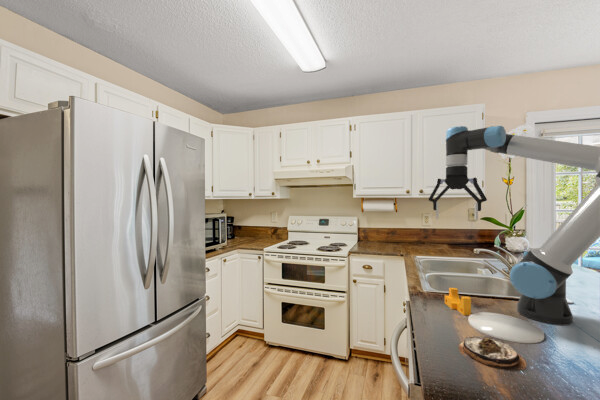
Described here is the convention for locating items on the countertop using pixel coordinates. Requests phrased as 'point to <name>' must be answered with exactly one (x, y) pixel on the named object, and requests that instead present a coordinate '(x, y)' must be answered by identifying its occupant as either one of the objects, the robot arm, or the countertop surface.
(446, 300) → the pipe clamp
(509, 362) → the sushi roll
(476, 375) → the countertop surface
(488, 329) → the plate
